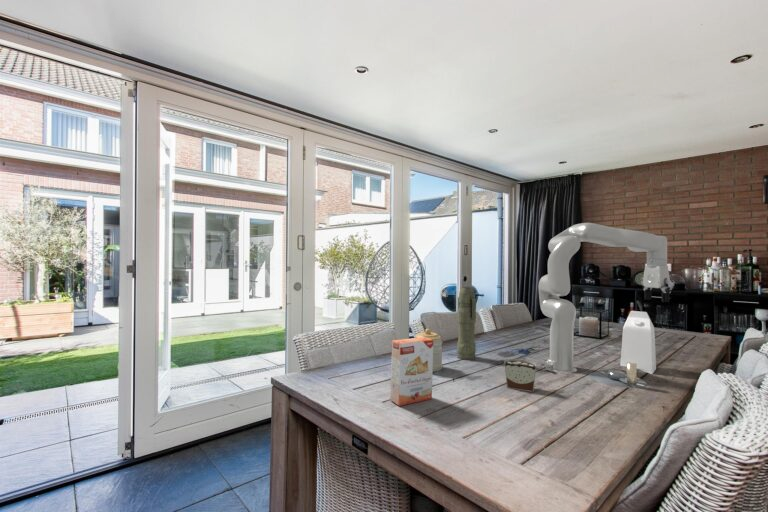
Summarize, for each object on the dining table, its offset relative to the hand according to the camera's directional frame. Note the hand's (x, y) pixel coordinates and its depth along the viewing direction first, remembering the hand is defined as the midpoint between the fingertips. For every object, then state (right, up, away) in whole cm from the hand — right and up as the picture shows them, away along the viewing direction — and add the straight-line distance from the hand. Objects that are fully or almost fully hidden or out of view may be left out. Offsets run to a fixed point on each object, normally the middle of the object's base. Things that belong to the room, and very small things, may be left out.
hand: (656, 300), depth 168 cm
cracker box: (-114, -30, -41) cm, 125 cm away
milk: (-8, -31, +1) cm, 32 cm away
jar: (-105, -30, -3) cm, 109 cm away
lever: (-30, -29, -22) cm, 47 cm away
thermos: (-83, -31, +16) cm, 90 cm away
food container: (-71, -30, -26) cm, 82 cm away
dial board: (-30, -31, -19) cm, 47 cm away
